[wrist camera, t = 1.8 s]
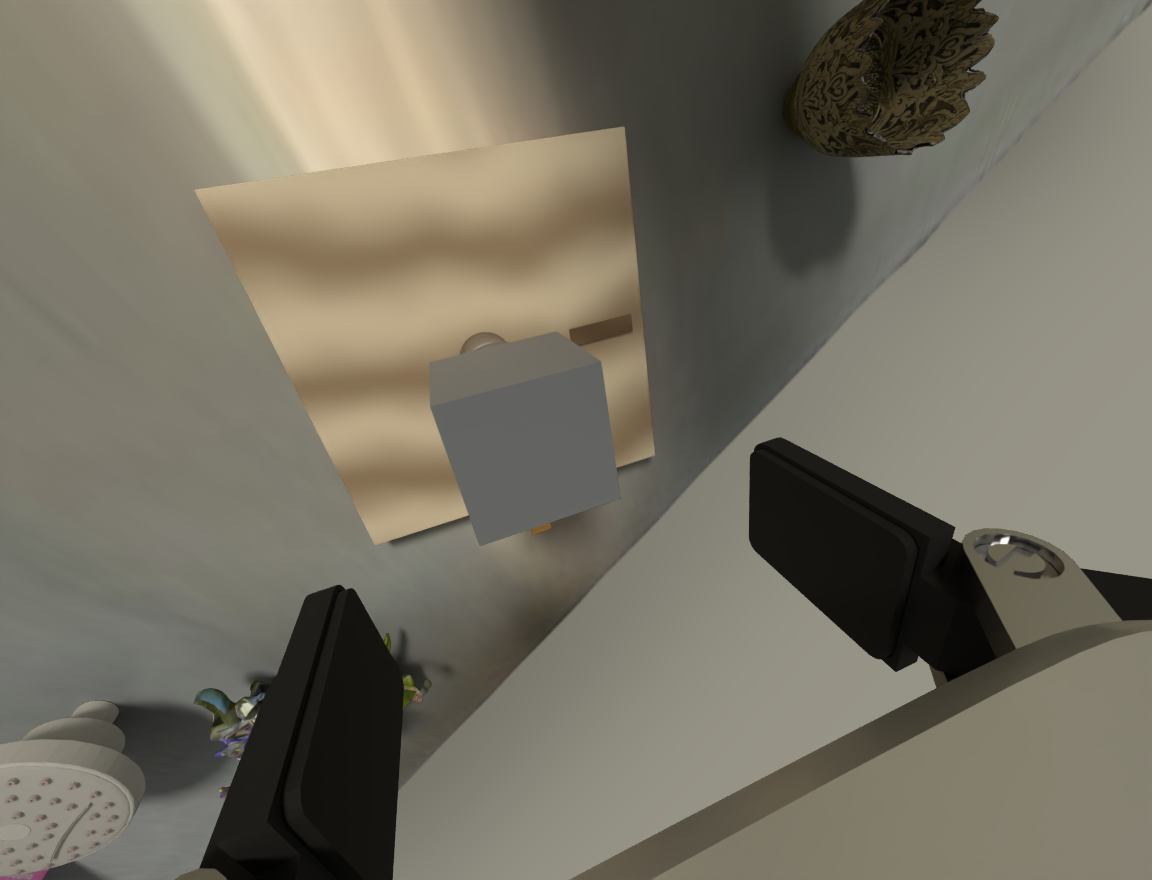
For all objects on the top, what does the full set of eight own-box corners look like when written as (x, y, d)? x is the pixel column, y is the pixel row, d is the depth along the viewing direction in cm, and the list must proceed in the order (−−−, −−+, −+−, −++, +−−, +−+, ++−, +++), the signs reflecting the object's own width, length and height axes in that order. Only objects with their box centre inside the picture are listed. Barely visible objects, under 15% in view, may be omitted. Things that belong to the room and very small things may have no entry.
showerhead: (-121, 775, 19) (154, 793, 23) (18, 642, 25) (212, 677, 30) (-192, 907, 20) (81, 898, 25) (-44, 749, 26) (151, 766, 31)
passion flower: (306, 630, 37) (135, 738, 25) (386, 561, 34) (236, 646, 22) (383, 738, 36) (242, 900, 24) (471, 676, 33) (360, 826, 22)
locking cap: (429, 350, 17) (429, 406, 11) (544, 322, 18) (601, 361, 12) (489, 531, 22) (513, 640, 16) (580, 501, 23) (634, 593, 17)
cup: (854, 12, 25) (1017, -77, 18) (850, 156, 29) (985, 128, 22) (746, 45, 24) (875, -35, 17) (756, 190, 28) (867, 172, 21)
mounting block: (214, 194, 20) (99, 167, 13) (610, 134, 24) (685, 89, 17) (378, 527, 29) (362, 616, 22) (643, 444, 33) (700, 497, 26)
